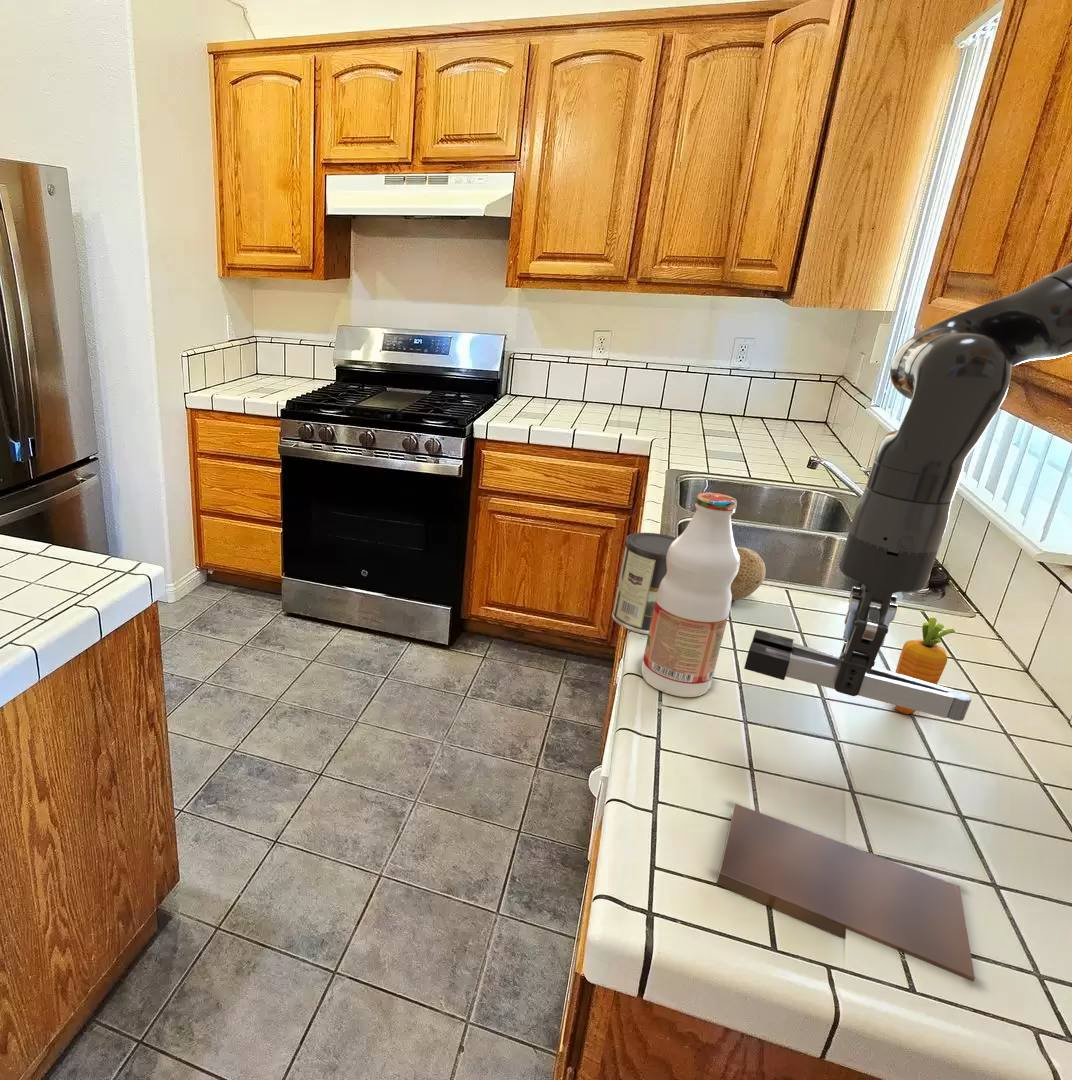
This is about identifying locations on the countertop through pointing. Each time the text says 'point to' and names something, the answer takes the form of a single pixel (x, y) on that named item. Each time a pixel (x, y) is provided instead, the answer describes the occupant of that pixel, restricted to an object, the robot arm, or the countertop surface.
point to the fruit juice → (693, 601)
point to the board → (845, 889)
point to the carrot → (924, 657)
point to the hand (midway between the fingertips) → (846, 683)
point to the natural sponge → (747, 574)
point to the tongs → (878, 684)
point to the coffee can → (640, 580)
